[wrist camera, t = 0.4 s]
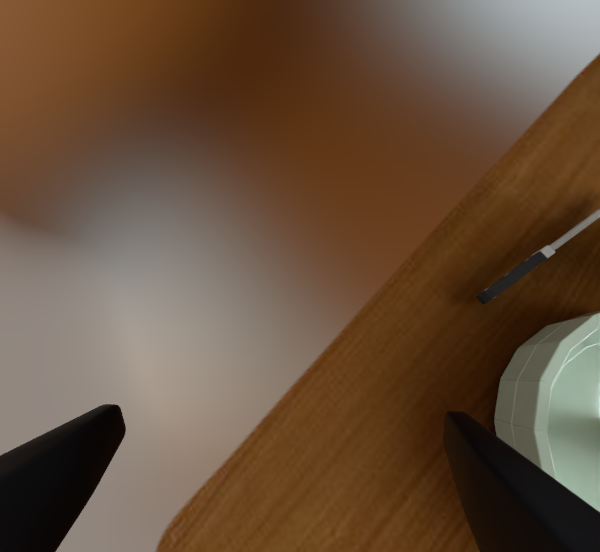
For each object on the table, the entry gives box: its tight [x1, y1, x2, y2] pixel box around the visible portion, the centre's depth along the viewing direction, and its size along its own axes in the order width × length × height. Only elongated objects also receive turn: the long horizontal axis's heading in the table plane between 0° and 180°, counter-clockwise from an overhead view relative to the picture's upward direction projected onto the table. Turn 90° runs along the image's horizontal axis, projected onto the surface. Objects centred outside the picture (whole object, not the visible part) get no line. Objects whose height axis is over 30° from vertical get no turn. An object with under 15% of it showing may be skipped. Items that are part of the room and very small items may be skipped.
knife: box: [476, 209, 600, 304], centre depth 20 cm, size 15×1×2 cm, turn 124°
